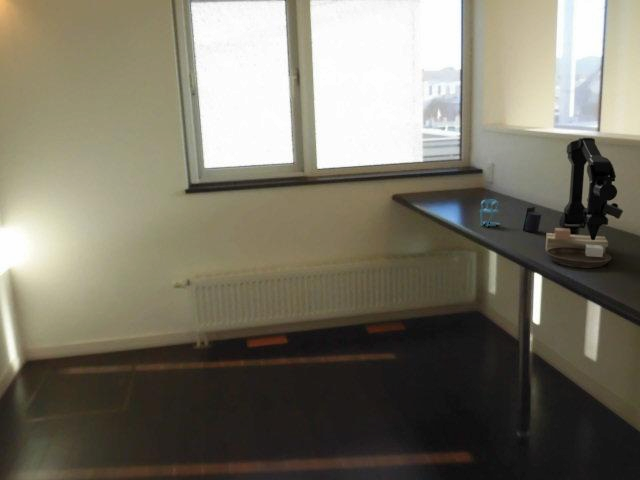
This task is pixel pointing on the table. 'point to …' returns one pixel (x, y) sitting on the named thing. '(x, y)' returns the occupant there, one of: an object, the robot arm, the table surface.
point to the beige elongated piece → (574, 241)
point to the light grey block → (594, 250)
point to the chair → (489, 212)
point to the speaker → (532, 220)
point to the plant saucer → (576, 257)
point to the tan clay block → (562, 233)
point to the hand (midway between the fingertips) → (592, 239)
